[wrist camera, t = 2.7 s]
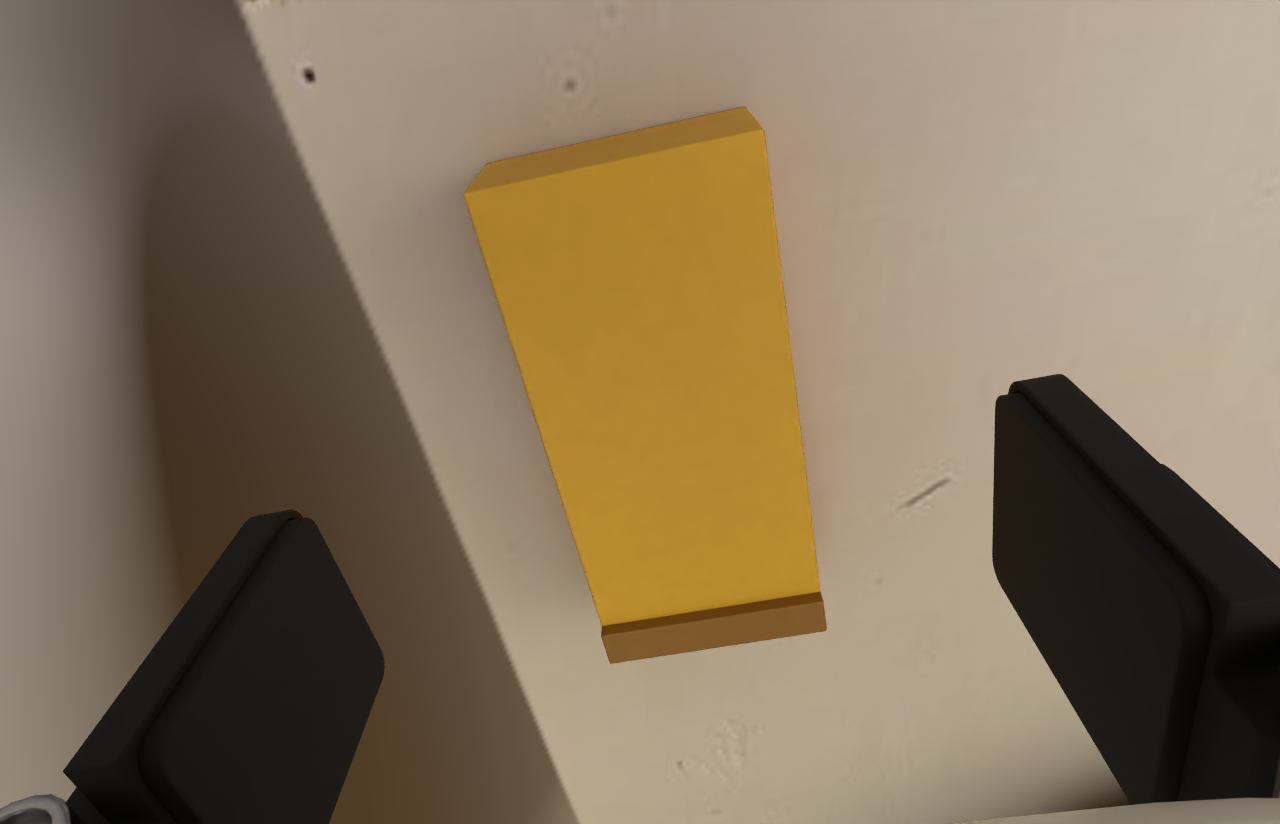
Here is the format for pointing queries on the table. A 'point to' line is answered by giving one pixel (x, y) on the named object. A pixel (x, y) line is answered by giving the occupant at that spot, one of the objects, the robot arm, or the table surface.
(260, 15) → the table surface
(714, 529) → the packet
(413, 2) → the table surface
